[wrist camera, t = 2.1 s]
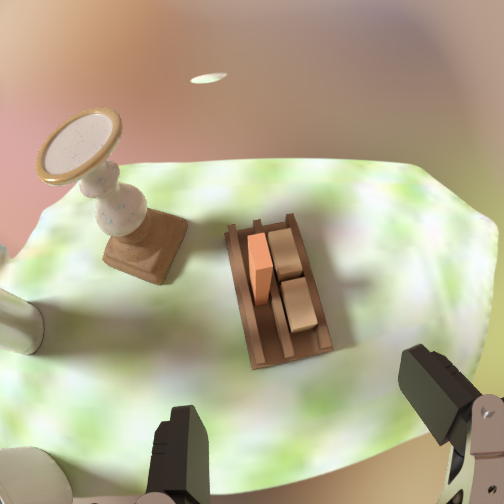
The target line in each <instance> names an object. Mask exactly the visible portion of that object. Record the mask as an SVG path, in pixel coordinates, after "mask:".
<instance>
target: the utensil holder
mask: <svg viewBox="0 0 504 504" xmlns="http://www.w3.org/2000/svg"><path fill="white" fill-rule="evenodd" d="M72 502H73V493H72V489H71V486H70V484H69V481H68V479H67V477H66V475H65V474H64V472H63V470H62V469H61V468H60V466H59V465H58V464H57V463H56V462H55V461H54V460H53V459H52V458H51V457H50V456H49V455H48V454H47V453H45V452H44V451H42V450H40V449H38V448H35V447H15V448H2V449H0V504H72Z"/></svg>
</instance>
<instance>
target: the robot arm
mask: <svg viewBox="0 0 504 504" xmlns="http://www.w3.org/2000/svg"><path fill="white" fill-rule="evenodd" d="M43 331H44V326H43V319H42V316H41V314H40V312H39V310H38V309H37V308H36V307H35V306H33V305H31V304H29V303H27V302H26V301H25V300H23V299H21V298H19V297H17V296H15V295H13V294H11V293H9V292H7V291H5V290H3V289H1V288H0V349H4V350H8V351H12V352H16V353H20V354H24V355H29V354H32V353H34V352H35V351H36V350H37V349H38V347H39V346H40V344H41V341H42V338H43ZM398 382H399V387H400V389H401V391H402V393H403V394H404V395H405V397H406V398H407V399H408V401H409V402H410V404H411V405H412V407H413V408H414V409H415V411H416V412H417V414H418V415H419V416H420V418H421V419H422V421H423V422H424V424H425V425H426V426H427V428H428V429H429V431H430V432H431V434H432V435H433V437H434V438H435V439H436V441H437V442H438V444H439V445H440V446H442V445H443V444H445V443H447V442H448V441H450V443H451V444H452V446H451V449H450V455H449V461H448V467H447V473H446V478H445V483H444V487H443V490H442V493H441V495H440V497H439V499H438V501H437V504H504V397H503V398H499V397H497V396H495V395H492V394H486V395H482V394H481V393H480V392H479V391H478V390H477V389H476V388H475V387H474V386H473V384H472V383H471V382H470V381H469V380H468V379H467V378H466V377H465V376H464V375H463V374H462V373H461V372H459V370H458V369H457V368H456V367H455V366H453V365H452V363H451V362H450V361H449V360H448V359H447V358H446V357H445V356H443V355H441V354H439V353H437V352H435V351H433V352H431V353H430V352H429V351H428V350H427V348H426V347H425V346H423V345H422V344H418V345H416V346H413V347H411V348H409V349H406V350H404V351H403V352H402V357H401V363H400V370H399V376H398ZM153 445H154V446H153V448H152V456H151V462H150V469H149V476H148V484H147V490H146V493H145V495H143V496H141V497H140V498H139V499H138V500H137V502H136V503H135V504H210V483H209V441H208V435H207V431H206V429H205V427H204V425H203V423H202V421H201V419H200V417H199V415H198V413H197V411H196V409H195V407H194V406H193V405H187V406H178V407H173V408H172V410H171V417H170V421H163V422H161V424H160V425H159V427H158V428H157V430H156V431H155V435H154V442H153ZM94 504H95V503H94Z"/></svg>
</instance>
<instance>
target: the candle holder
mask: <svg viewBox="0 0 504 504" xmlns="http://www.w3.org/2000/svg"><path fill="white" fill-rule="evenodd" d="M122 130H123V125H122V119H121V117H120V115H119V114H118V113H117V112H116V111H115V110H113V109H110V108H104V107H102V108H101V107H100V108H92V109H89V110H86V111H83V112H81V113H78V114H76V115H74V116H73V117H71V118H69V119H68V120H66V121H65V122H64V123H63V124H61V125H60V126H59V127H58V128H56V130H54V132H52V134H51V135H50V136H49V137H48V138H47V140H46V141H45V142H44V144H43V146H42V147H41V149H40V151H39V154H38V157H37V161H36V172H37V175H38V176H39V178H40V179H41V181H43V182H44V183H45V184H48V185H50V186H63V185H68V184H71V183H73V182H76V181H78V180H80V191H81V193H82V194H83V195H84V196H85V197H88V198H96V207H95V217H96V221H97V224H98V226H99V227H100V229H101V230H102V231H103V232H104V233H106V234H108V235H110V236H111V237H110V239H109V241H108V243H107V246H106V248H105V252H104V256H103V259H102V260H103V261H104V262H105V263H106V264H107V265H109V266H111V267H113V268H115V269H117V270H120V271H122V272H125V273H127V274H130V275H132V276H135V277H137V278H140V279H142V280H145V281H148V282H150V283H153V284H156V285H161V284H162V283H163V281H164V279H165V277H166V275H167V272H168V270H169V268H170V266H171V263H172V261H173V259H174V257H175V255H176V252H177V250H178V248H179V246H180V244H181V241H182V239H183V237H184V235H185V232H186V230H187V228H188V224H187V222H186V220H185V219H183V218H180V217H178V216H174V215H171V214H167V213H164V212H160V211H156V210H153V209H149V208H147V201H146V198H145V196H144V194H143V193H142V192H141V191H140V190H139V189H138V188H137V187H135V186H133V185H130V184H126V183H120V182H118V179H119V175H120V169H119V166H118V165H117V164H116V163H115V162H114V161H111V160H107V158H108V157H109V156H110V154H111V153H112V152H113V151H114V149H115V147H116V146H117V144H118V142H119V140H120V138H121V135H122Z"/></svg>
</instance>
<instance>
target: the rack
mask: <svg viewBox="0 0 504 504" xmlns="http://www.w3.org/2000/svg"><path fill="white" fill-rule="evenodd" d="M288 228H291V232H292V235H293V238H294V241H295V245H296V248H297V252H298V255H299V258H300V262H301V265H302V269H303V270H302V273H301V275H300V277H299V278H303V277H305V279H306V283H307V286H308V290H309V293H310V297H311V301H312V304H313V308H314V312H315V315H316V319H317V324H316V325H315V326H314V327H313V328H312V329H310V330H306V331H302V332H298V333H294V334H289V331H288V327H287V323H286V319H285V315H284V311H283V307H282V303H281V299H280V295H279V290H280V286H281V285H277V283H276V279H275V275H274V271H273V270H272V277H271V283H270V289H269V296H268V302H267V304H264V305H259V306H255V302H254V297H253V293H252V288H251V284H250V270H249V251H248V236H249V235H254V234H259V233H265V237H266V241H267V243H268V232H272V231H277V230H283V229H288ZM228 229H229V232H228V233H224V234H225V239H226V244H227V250H228V255H229V260H230V265H231V270H232V275H233V280H234V285H235V290H236V295H237V300H238V305H239V310H240V315H241V319H242V324H243V329H244V334H245V338H246V343H247V348H248V352H249V357H250V362H251V366H252V370H253V369H258V368H263V367H267V366H272V365H276V364H281V363H285V362H289V361H293V360H297V359H301V358H305V357H309V356H313V355H316V354H320V353H324V352H327V351H331V350H333V347H332V343H331V339H330V335H329V331H328V327H327V324H326V320H325V316H324V313H323V309H322V306H321V302H320V298H319V295H318V291H317V288H316V284H315V281H314V278H313V274H312V271H311V267H310V264H309V261H308V257H307V254H306V251H305V248H304V244H303V241H302V238H301V235H300V232H299V228H298V225H297V222H296V220H295V217H294V214H293V213H292V214H286V220H285V222H281V223H275V224H270V225H264V226H262V224H261V220H260V219H259V220H253V228H249V229H243V230H238V231H236V227H235V224H232V225H228Z"/></svg>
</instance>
